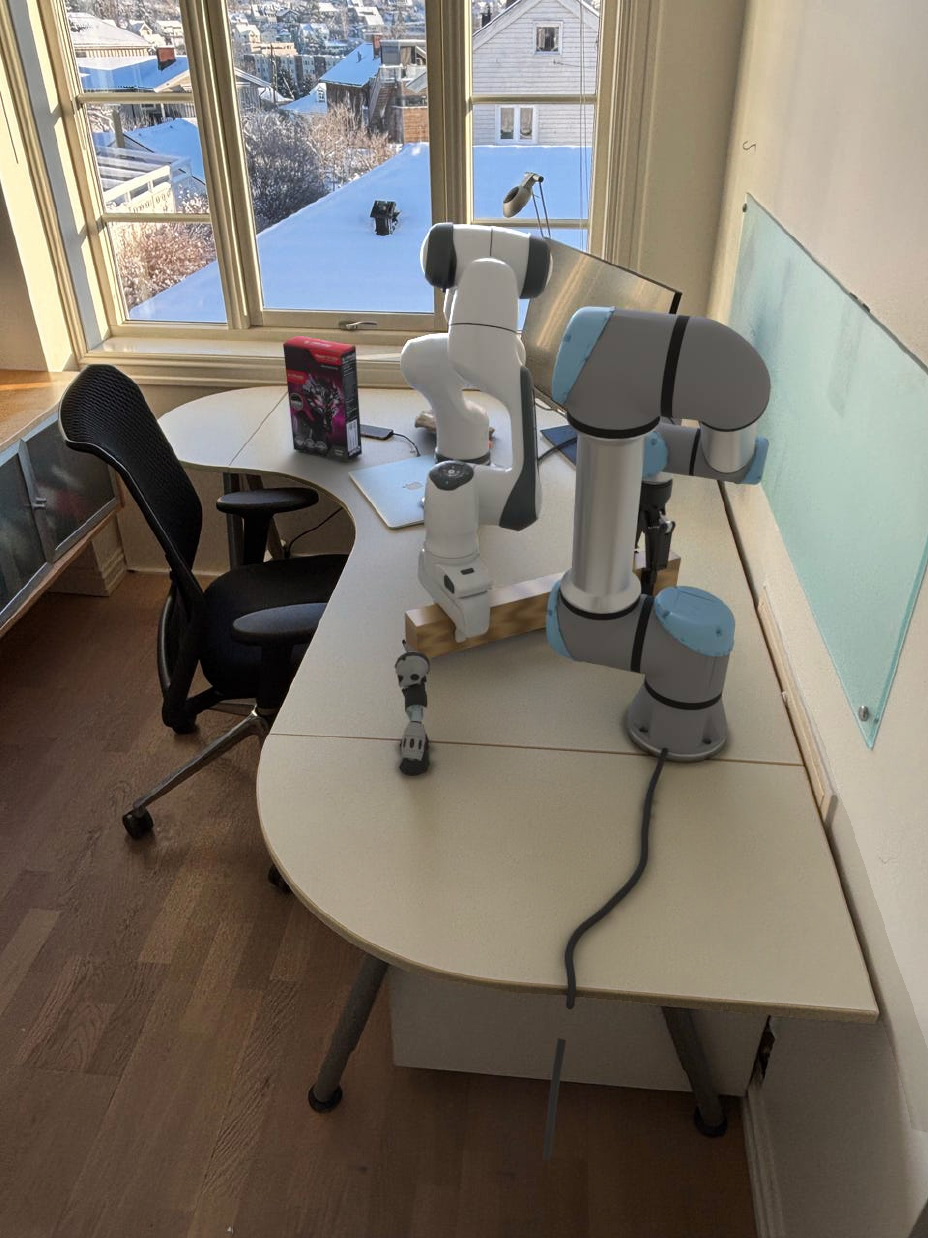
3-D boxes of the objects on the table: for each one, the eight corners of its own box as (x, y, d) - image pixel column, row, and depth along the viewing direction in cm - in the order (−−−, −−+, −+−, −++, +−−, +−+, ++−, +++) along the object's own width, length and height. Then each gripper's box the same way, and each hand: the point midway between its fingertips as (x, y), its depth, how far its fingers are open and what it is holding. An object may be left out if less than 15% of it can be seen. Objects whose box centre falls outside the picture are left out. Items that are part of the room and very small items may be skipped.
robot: (432, 803, 130) (430, 691, 118) (397, 804, 129) (392, 692, 118) (430, 713, 146) (428, 607, 135) (399, 714, 146) (394, 608, 134)
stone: (398, 433, 232) (403, 409, 229) (417, 425, 245) (422, 402, 243) (477, 457, 228) (483, 433, 226) (491, 447, 242) (497, 425, 239)
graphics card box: (291, 450, 230) (280, 341, 215) (307, 440, 235) (297, 333, 220) (348, 464, 224) (341, 353, 209) (364, 454, 229) (358, 344, 214)
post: (660, 578, 179) (665, 545, 175) (675, 590, 175) (681, 557, 171) (405, 647, 158) (404, 611, 154) (417, 662, 155) (416, 626, 151)
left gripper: (407, 536, 156) (409, 604, 164) (461, 595, 141) (461, 667, 149) (441, 528, 159) (441, 596, 167) (497, 585, 144) (495, 656, 152)
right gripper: (604, 460, 166) (593, 571, 179) (665, 501, 152) (648, 618, 165) (639, 453, 169) (625, 563, 182) (701, 492, 155) (682, 608, 168)
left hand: (451, 630), depth 158 cm, fingers closed on post, 5 cm apart
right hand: (636, 589), depth 173 cm, fingers closed on post, 5 cm apart
